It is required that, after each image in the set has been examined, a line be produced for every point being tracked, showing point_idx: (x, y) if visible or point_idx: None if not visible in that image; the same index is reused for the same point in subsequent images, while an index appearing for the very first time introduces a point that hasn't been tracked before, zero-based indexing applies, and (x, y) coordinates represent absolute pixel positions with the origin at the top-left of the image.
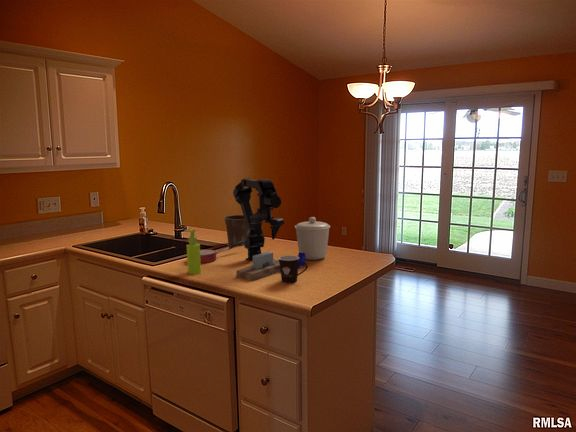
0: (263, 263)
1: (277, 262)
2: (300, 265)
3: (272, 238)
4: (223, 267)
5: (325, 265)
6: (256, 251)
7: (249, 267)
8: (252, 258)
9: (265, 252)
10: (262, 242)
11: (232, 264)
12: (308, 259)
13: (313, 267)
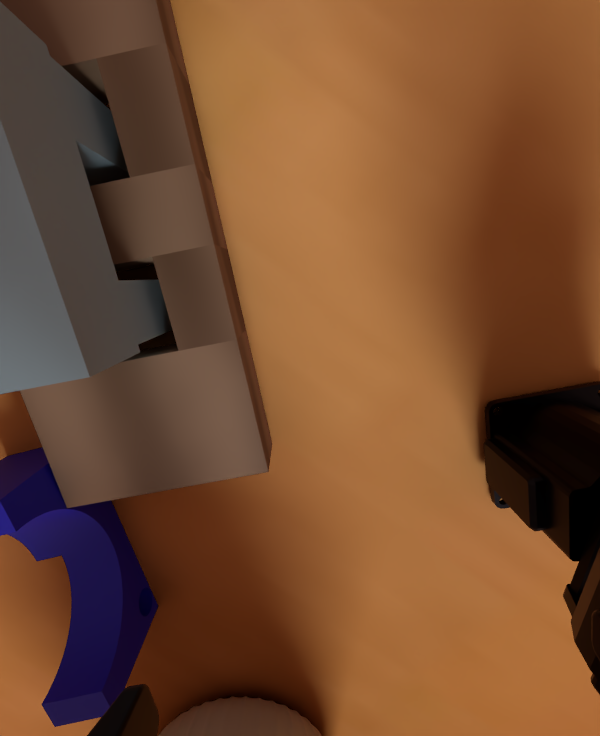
0: (182, 302)
1: (124, 430)
2: (39, 558)
3: (115, 711)
4: (568, 26)
5: (16, 691)
6: (546, 475)
7: (129, 59)
8: (536, 413)
9: (62, 320)
10: (577, 623)
11: (580, 182)
12: (203, 703)
13: (18, 613)
